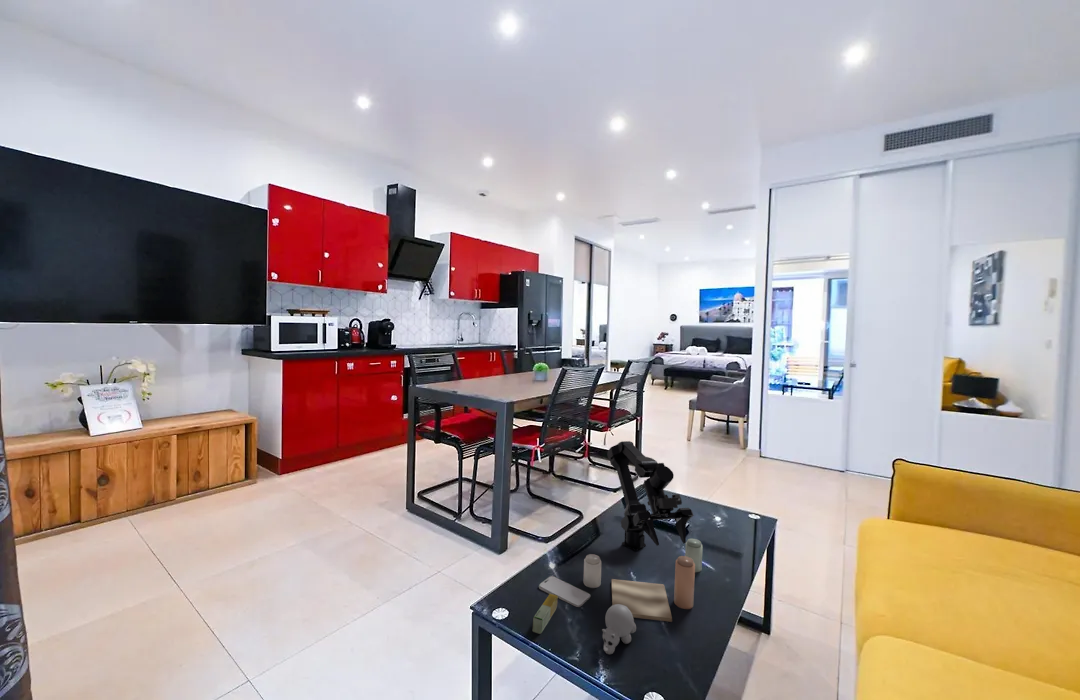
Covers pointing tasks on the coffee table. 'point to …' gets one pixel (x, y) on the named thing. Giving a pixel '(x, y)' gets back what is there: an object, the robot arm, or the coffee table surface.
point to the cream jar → (592, 571)
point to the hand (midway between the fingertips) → (671, 544)
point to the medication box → (544, 613)
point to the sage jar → (694, 552)
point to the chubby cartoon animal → (617, 627)
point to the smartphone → (564, 591)
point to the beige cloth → (642, 599)
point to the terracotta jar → (684, 582)
